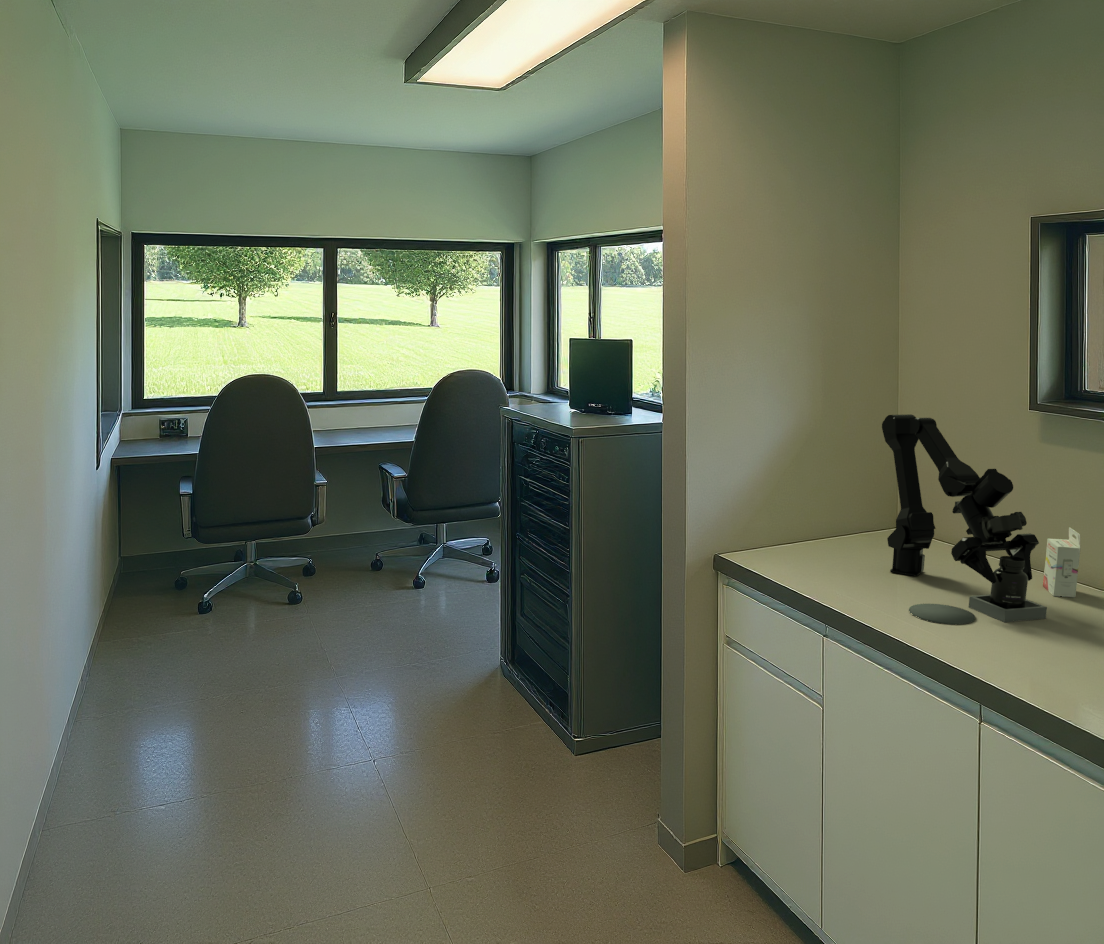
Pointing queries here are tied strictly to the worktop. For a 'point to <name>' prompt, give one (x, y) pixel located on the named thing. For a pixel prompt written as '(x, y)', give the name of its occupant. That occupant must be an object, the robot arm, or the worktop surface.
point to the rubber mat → (942, 613)
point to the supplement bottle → (1009, 583)
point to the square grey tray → (1007, 610)
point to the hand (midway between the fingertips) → (1012, 581)
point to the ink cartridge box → (1062, 565)
